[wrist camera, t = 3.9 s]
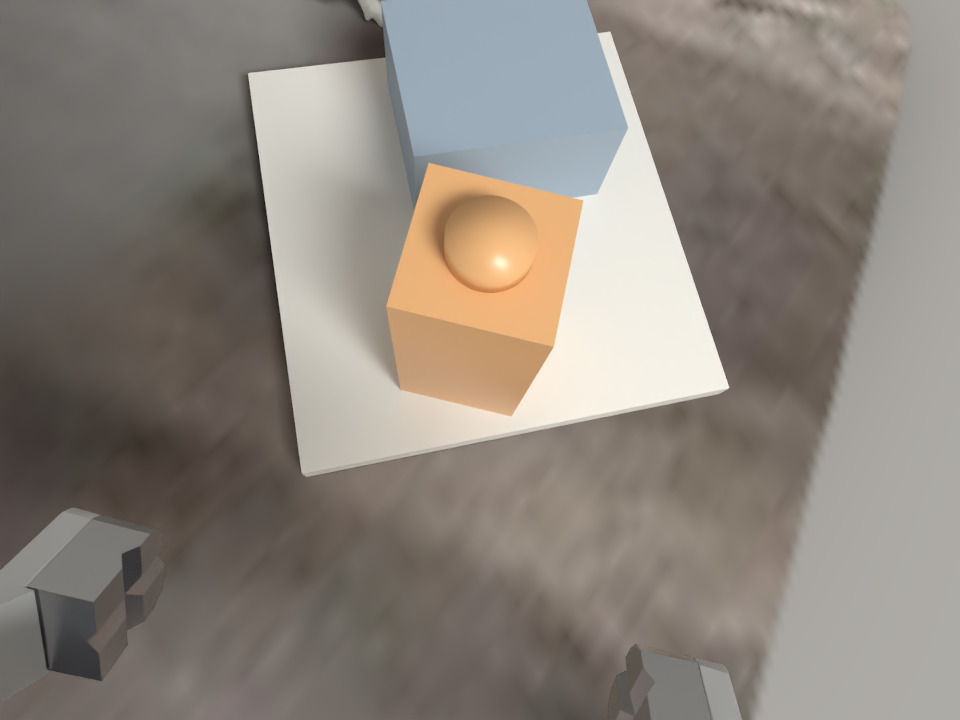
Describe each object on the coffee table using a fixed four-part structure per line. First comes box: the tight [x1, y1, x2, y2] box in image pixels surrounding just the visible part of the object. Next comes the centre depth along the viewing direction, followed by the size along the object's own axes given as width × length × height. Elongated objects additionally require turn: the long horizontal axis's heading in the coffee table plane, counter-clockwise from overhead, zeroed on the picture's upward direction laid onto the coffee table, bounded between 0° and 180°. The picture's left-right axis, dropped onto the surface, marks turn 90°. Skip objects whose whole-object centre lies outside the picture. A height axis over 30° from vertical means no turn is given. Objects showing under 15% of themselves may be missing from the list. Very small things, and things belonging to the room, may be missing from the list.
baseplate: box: [248, 32, 729, 477], centre depth 27 cm, size 17×18×1 cm
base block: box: [381, 0, 628, 211], centre depth 26 cm, size 8×7×4 cm
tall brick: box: [386, 163, 583, 416], centre depth 20 cm, size 4×4×9 cm
